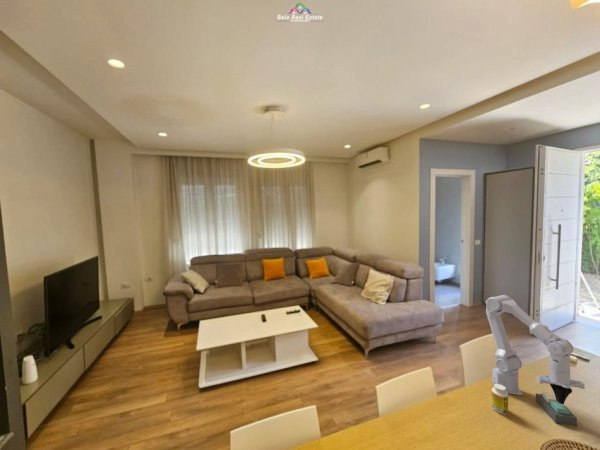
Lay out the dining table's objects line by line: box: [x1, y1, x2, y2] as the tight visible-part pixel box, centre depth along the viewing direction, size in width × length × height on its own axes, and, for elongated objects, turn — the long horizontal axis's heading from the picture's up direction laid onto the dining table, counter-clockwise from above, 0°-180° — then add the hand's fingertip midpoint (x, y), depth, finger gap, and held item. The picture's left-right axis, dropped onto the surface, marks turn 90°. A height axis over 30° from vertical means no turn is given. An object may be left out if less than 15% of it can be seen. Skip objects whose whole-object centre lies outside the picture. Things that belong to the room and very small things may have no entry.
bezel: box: [535, 393, 578, 425], centre depth 105 cm, size 7×12×2 cm, turn 164°
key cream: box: [541, 391, 558, 403], centre depth 108 cm, size 4×4×2 cm
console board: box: [535, 398, 578, 427], centre depth 105 cm, size 7×12×1 cm, turn 164°
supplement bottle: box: [491, 384, 509, 415], centre depth 108 cm, size 6×6×10 cm
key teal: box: [550, 401, 571, 415], centre depth 103 cm, size 4×4×2 cm
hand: (560, 402), depth 102 cm, fingers closed
